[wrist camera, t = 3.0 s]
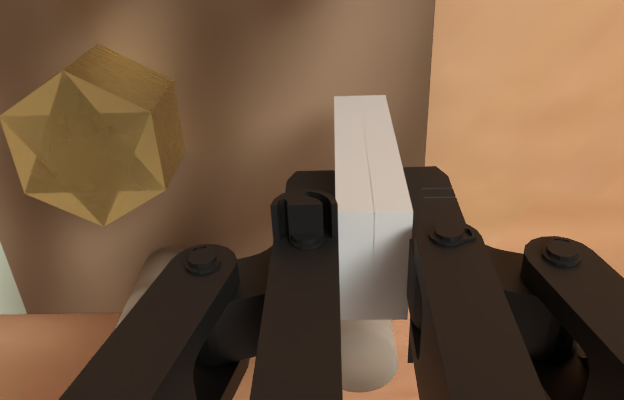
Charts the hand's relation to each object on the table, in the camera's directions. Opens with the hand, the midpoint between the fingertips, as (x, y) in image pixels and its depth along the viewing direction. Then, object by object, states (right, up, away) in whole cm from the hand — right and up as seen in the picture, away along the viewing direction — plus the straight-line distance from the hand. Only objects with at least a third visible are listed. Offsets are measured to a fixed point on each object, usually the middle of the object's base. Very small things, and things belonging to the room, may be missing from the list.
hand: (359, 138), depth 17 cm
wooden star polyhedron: (-8, +1, +2) cm, 8 cm away
